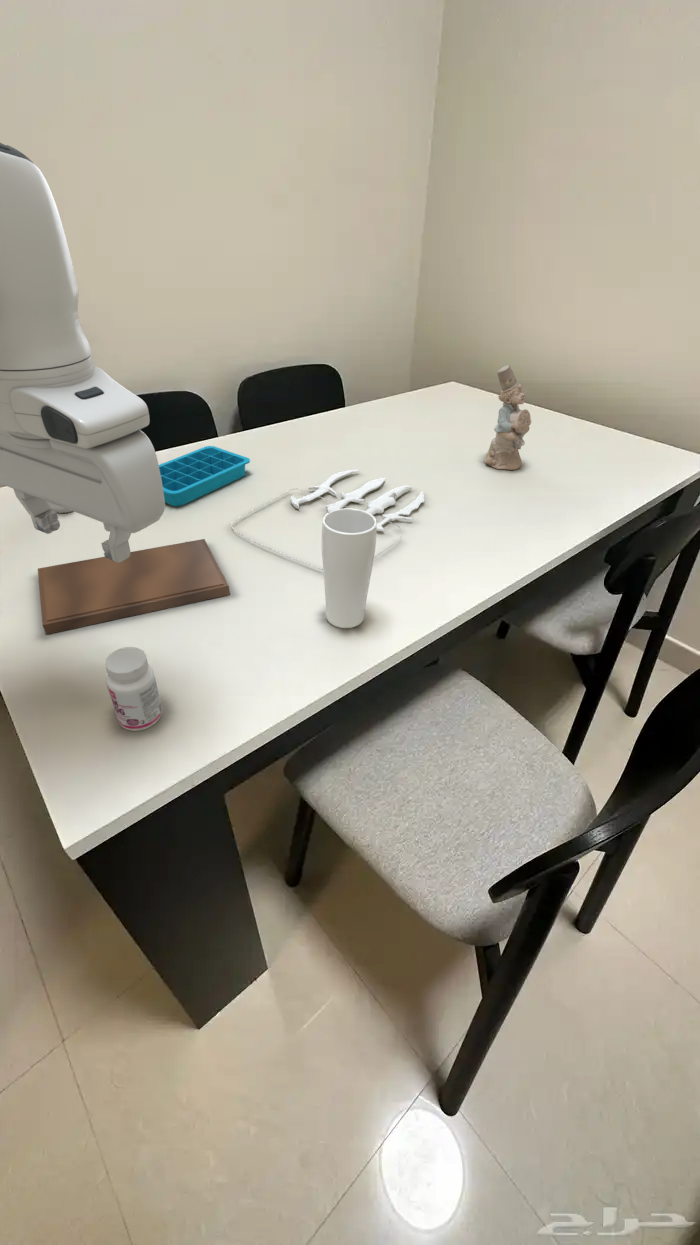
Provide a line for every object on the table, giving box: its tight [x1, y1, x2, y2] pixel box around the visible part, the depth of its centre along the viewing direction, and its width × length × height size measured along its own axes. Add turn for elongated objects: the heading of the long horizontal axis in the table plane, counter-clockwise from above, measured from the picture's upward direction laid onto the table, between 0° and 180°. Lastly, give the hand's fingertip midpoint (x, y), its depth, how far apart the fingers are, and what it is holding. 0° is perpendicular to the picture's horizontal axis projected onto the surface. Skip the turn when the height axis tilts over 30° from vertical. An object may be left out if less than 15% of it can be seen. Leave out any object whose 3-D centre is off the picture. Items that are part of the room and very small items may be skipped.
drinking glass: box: [321, 507, 378, 629], centre depth 75 cm, size 7×7×15 cm
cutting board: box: [37, 538, 231, 635], centre depth 83 cm, size 24×14×2 cm, turn 115°
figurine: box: [483, 364, 533, 471], centre depth 119 cm, size 9×8×20 cm
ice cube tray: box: [158, 445, 251, 507], centre depth 110 cm, size 12×20×3 cm, turn 146°
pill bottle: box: [105, 646, 163, 732], centre depth 61 cm, size 5×5×8 cm
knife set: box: [230, 469, 425, 571], centre depth 102 cm, size 26×35×1 cm
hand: (82, 543), depth 55 cm, fingers open, 8 cm apart
